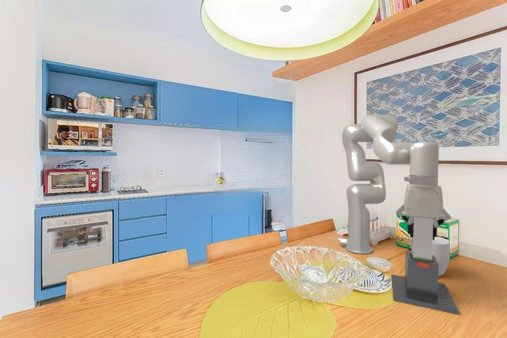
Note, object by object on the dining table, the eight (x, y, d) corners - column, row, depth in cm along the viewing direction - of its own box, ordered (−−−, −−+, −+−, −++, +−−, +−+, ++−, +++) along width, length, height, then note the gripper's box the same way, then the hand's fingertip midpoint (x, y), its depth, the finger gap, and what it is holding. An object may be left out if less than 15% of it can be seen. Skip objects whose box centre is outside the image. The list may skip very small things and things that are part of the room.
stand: (393, 300, 78) (393, 262, 78) (391, 278, 93) (391, 246, 92) (457, 314, 71) (459, 272, 71) (444, 288, 86) (446, 253, 85)
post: (412, 278, 81) (413, 216, 80) (410, 271, 85) (412, 212, 84) (431, 281, 78) (433, 217, 77) (428, 274, 83) (430, 214, 82)
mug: (426, 283, 89) (427, 246, 88) (399, 270, 100) (400, 237, 99) (456, 277, 93) (457, 242, 93) (428, 265, 104) (428, 233, 103)
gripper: (393, 181, 81) (391, 237, 82) (460, 183, 73) (458, 245, 74) (392, 179, 88) (391, 231, 88) (453, 181, 80) (451, 237, 81)
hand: (421, 236), depth 81 cm, fingers closed on post, 5 cm apart
